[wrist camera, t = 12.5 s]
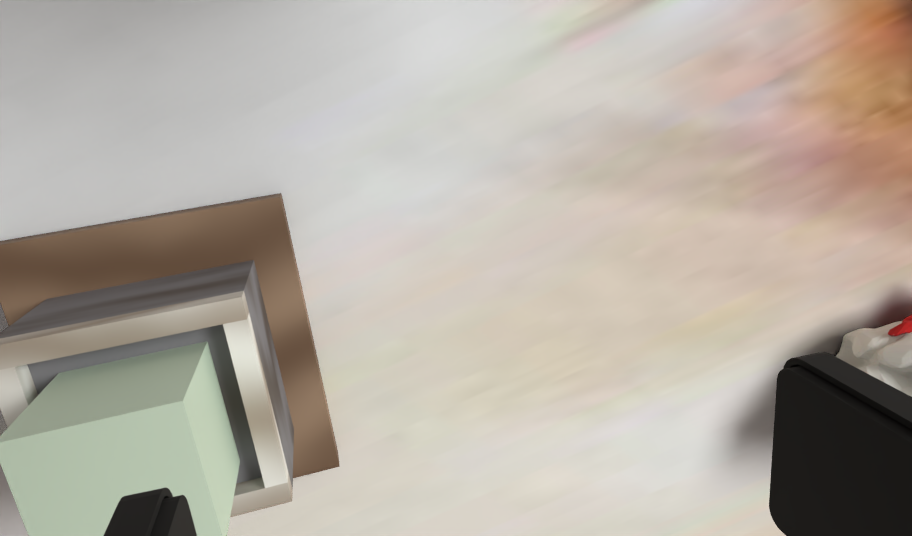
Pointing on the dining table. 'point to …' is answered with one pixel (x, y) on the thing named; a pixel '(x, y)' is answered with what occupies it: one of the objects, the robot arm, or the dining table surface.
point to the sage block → (123, 443)
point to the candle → (882, 353)
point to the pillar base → (179, 324)
